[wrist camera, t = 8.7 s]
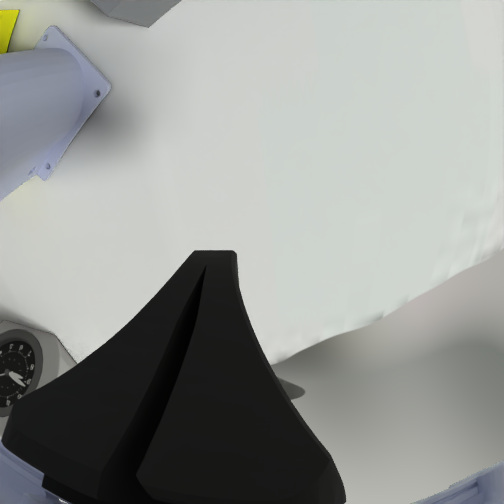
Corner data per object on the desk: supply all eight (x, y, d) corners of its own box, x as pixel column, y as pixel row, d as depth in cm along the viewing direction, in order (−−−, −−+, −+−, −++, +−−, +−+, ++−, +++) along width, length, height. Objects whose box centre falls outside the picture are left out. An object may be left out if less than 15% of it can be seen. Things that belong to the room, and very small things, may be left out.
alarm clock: (75, 340, 30) (28, 470, 14) (97, 369, 34) (62, 484, 18) (-7, 315, 30) (-52, 404, 14) (13, 343, 34) (-23, 426, 18)
